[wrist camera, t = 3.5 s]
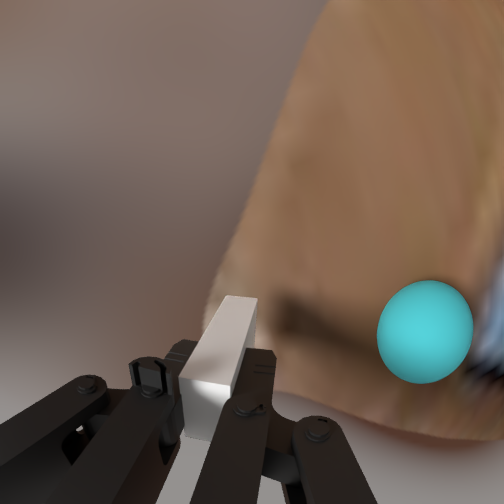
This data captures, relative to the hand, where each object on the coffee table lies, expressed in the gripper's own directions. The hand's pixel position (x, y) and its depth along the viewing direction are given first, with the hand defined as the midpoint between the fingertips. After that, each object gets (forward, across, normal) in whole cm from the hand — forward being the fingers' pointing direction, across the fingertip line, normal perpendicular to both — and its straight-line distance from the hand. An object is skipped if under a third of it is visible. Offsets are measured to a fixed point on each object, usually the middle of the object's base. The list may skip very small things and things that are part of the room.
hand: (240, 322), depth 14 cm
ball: (0, -10, 0) cm, 10 cm away
